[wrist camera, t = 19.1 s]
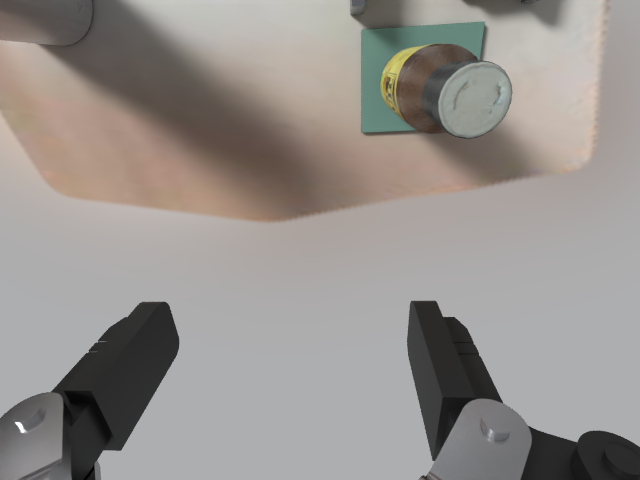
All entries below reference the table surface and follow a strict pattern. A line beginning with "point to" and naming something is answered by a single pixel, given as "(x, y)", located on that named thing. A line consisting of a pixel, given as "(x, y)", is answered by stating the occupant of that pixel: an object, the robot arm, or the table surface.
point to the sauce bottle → (446, 90)
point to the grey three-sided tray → (359, 3)
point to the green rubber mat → (387, 44)
